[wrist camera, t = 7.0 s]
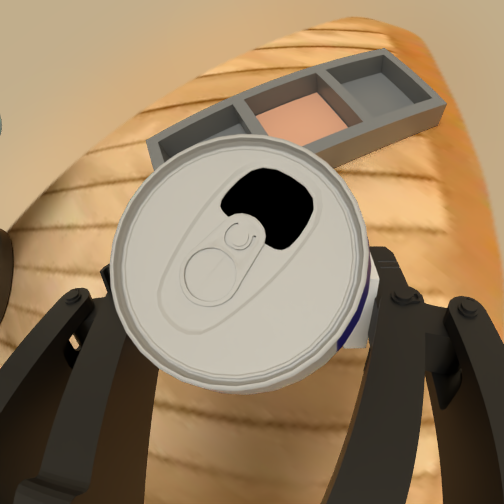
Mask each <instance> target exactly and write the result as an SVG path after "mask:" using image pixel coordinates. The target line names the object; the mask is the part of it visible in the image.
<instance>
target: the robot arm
mask: <svg viewBox="0 0 504 504" xmlns="http://www.w3.org/2000/svg"><path fill="white" fill-rule="evenodd" d="M1 130H2V122H1V117H0V134H1ZM369 248H370V258H371V275H370V284H369V292H368V296H367V299H366V302H365V305H364V308H363V311H362V314H361V317H360V319H359V321H358V323H357V324H356V326H355V328H354V329H353V331H352V333H351V334H350V336H349V338H348V339H347V341H346V343H345V344H344V345H343V348H366V344H367V340H368V338H369V344H370V348H369V352H368V356H367V360H366V363H365V367H364V374H363V378H362V382H361V386H360V390H359V394H358V397H357V401H356V405H355V408H354V412H353V415H352V419H351V422H350V425H349V429H348V432H347V435H346V438H345V441H344V444H343V447H342V450H341V453H340V456H339V459H338V461H337V464H336V467H335V470H334V472H333V475H332V477H331V480H330V483H329V485H328V488H327V490H326V492H325V495H324V497H323V500H322V502H321V504H405V503H406V499H407V495H408V491H409V487H410V483H411V478H412V474H413V469H414V463H415V458H416V452H417V446H418V440H419V433H420V425H421V416H422V406H423V394H424V378H425V377H426V382H427V386H428V391H429V396H430V400H431V406H432V411H433V416H434V422H435V428H436V435H437V441H438V449H439V457H440V466H441V477H442V492H443V504H504V344H503V342H502V340H501V338H500V336H499V334H498V332H497V330H496V328H495V326H494V325H493V323H492V321H491V319H490V317H489V315H488V314H487V312H486V310H485V308H484V307H483V306H482V305H481V304H480V303H479V302H477V301H476V300H475V299H473V298H470V297H464V296H459V297H454V298H453V299H451V300H450V302H449V305H448V308H443V307H438V306H433V305H429V304H426V303H424V299H423V297H422V295H421V294H420V293H419V292H418V291H417V290H415V289H413V288H412V287H409V286H408V284H407V282H406V280H405V277H404V275H403V273H402V271H401V269H400V268H399V264H398V262H397V260H396V258H395V256H394V254H393V253H392V252H391V251H390V250H389V249H387V248H386V247H369ZM12 269H13V252H12V245H11V240H10V238H9V235H8V234H7V233H6V232H5V231H4V230H2V229H0V322H1V319H2V317H3V315H4V312H5V308H6V305H7V301H8V297H9V292H10V287H11V280H12ZM100 273H101V276H102V279H103V281H104V284H105V287H106V289H107V294H106V296H105V297H102V298H95V299H92V298H91V295H90V293H89V291H88V290H87V289H85V288H75V289H72V290H70V291H69V292H67V293H66V294H65V295H63V296H62V297H61V298H60V299H59V300H58V301H57V302H56V304H55V305H54V306H53V307H52V308H51V309H50V310H49V311H48V312H47V313H46V315H45V316H44V317H43V318H42V319H41V320H40V321H39V322H38V324H37V325H36V326H35V327H34V328H33V329H32V330H31V332H30V333H29V334H28V335H27V336H26V338H25V339H24V340H23V341H22V342H21V344H20V345H19V346H18V347H17V348H16V350H15V351H14V352H13V353H12V355H11V356H10V357H9V358H8V360H7V361H6V362H5V364H4V365H3V366H2V367H1V369H0V504H144V492H145V478H146V466H147V455H148V446H149V436H150V428H151V420H152V412H153V404H154V397H155V390H156V384H157V377H158V371H159V368H158V367H157V366H156V365H154V364H153V363H152V362H151V361H150V360H149V359H148V358H147V357H146V356H144V355H143V354H142V353H141V352H140V351H139V349H138V348H137V347H136V345H135V344H134V343H133V341H132V340H131V338H130V337H129V336H128V334H127V333H126V331H125V329H124V327H123V325H122V322H121V320H120V318H119V316H118V314H117V311H116V308H115V304H114V300H113V295H112V291H111V283H110V264H108V265H106V266H105V267H103V269H102V270H101V271H100ZM72 335H74V337H75V339H76V340H77V342H78V344H79V347H78V348H77V349H76V350H75V349H74V348H73V346H72V345H71V343H70V341H69V339H70V337H71V336H72Z"/></svg>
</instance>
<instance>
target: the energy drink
mask: <svg viewBox="0 0 504 504" xmlns="http://www.w3.org/2000/svg"><path fill="white" fill-rule="evenodd" d="M370 275H371V258H370V248H369V240H368V237H367V232H366V225H365V222H364V219H363V217H362V214H361V211H360V208H359V205H358V202H357V200H356V199H355V197H354V195H353V194H352V192H351V191H350V189H349V187H348V186H347V184H346V183H345V181H344V180H343V179H342V177H341V176H340V175H339V174H338V173H337V172H336V171H335V170H334V169H333V168H332V167H331V166H330V165H329V164H328V163H327V162H326V161H324V160H323V159H321V158H320V157H318V156H317V155H316V154H314V153H313V152H311V151H310V150H308V149H306V148H304V147H302V146H299V145H297V144H295V143H292V142H290V141H288V140H285V139H280V138H276V137H271V136H267V135H256V134H237V135H229V136H222V137H217V138H214V139H210V140H207V141H204V142H201V143H198V144H195V145H193V146H191V147H189V148H187V149H185V150H183V151H181V152H179V153H177V154H176V155H174V156H173V157H172V158H170V159H169V160H167V161H166V162H165V163H163V164H162V165H160V166H159V167H158V168H157V169H156V170H155V171H154V172H153V173H152V174H151V175H150V176H149V177H148V178H147V179H146V180H145V181H144V182H143V183H142V184H141V186H140V187H139V188H138V190H137V191H136V193H135V194H134V195H133V197H132V198H131V199H130V201H129V203H128V205H127V207H126V209H125V211H124V213H123V215H122V217H121V219H120V221H119V224H118V227H117V230H116V233H115V236H114V240H113V244H112V251H111V258H110V283H111V291H112V295H113V300H114V304H115V308H116V311H117V314H118V316H119V318H120V320H121V322H122V325H123V327H124V329H125V331H126V333H127V334H128V336H129V337H130V338H131V340H132V341H133V343H134V344H135V345H136V347H137V348H138V349H139V351H140V352H141V353H142V354H143V355H144V356H146V357H147V358H148V359H149V360H150V361H151V362H152V363H153V364H154V365H156V366H157V367H158V368H159V369H161V370H162V371H164V372H166V373H168V374H169V375H171V376H173V377H175V378H177V379H178V380H180V381H182V382H185V383H188V384H192V385H195V386H198V387H201V388H204V389H208V390H211V391H215V392H219V393H225V394H242V395H250V394H257V393H263V392H269V391H275V390H278V389H281V388H283V387H286V386H288V385H291V384H293V383H296V382H298V381H301V380H303V379H304V378H306V377H307V376H309V375H310V374H312V373H313V372H315V371H316V370H317V369H319V368H320V367H322V366H323V365H325V364H326V363H327V362H328V361H329V360H330V359H331V358H332V357H333V356H334V355H335V354H336V352H337V351H338V350H339V349H340V348H341V347H342V346H343V345H344V344H345V343H346V341H347V339H348V338H349V336H350V334H351V333H352V331H353V329H354V328H355V326H356V324H357V323H358V321H359V319H360V317H361V314H362V311H363V308H364V305H365V302H366V299H367V296H368V292H369V284H370Z"/></svg>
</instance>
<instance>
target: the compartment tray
mask: <svg viewBox="0 0 504 504" xmlns="http://www.w3.org/2000/svg"><path fill="white" fill-rule="evenodd" d="M446 105H447V103H446V102H445V101H444V100H443V99H442V98H441V97H440V96H439V95H438V94H437V93H436V92H435V91H434V90H433V89H432V88H431V87H430V86H429V85H427V84H426V83H425V82H424V81H423V80H422V79H421V78H420V77H419V76H418V75H417V74H415V73H414V72H413V71H412V70H411V69H410V68H408V67H407V66H406V65H405V64H404V63H403V62H401V61H400V60H399V59H398V58H396V57H395V56H394V55H393V54H391V53H390V52H389V51H388V50H386V49H385V48H383V49H378V50H373V51H369V52H364V53H360V54H356V55H352V56H348V57H344V58H340V59H337V60H333V61H330V62H326V63H323V64H319V65H316V66H313V67H310V68H306V69H303V70H300V71H297V72H294V73H291V74H289V75H286V76H283V77H280V78H277V79H275V80H272V81H269V82H267V83H264V84H261V85H259V86H256V87H254V88H251V89H249V90H246V91H244V92H242V93H239V94H237V95H235V96H232V97H230V98H228V99H226V100H223V101H221V102H219V103H217V104H215V105H212V106H210V107H208V108H206V109H204V110H202V111H200V112H198V113H196V114H194V115H192V116H190V117H188V118H186V119H184V120H182V121H180V122H178V123H176V124H174V125H173V126H171V127H169V128H167V129H165V130H163V131H162V132H160V133H158V134H156V135H154V136H153V137H151V138H149V139H148V140H146V143H147V147H148V151H149V154H150V158H151V162H152V165H153V169H154V171H155V170H156V169H157V168H158V167H159V166H160V165H162V164H163V163H165V162H166V161H167V160H169V159H170V158H172V157H173V156H174V155H176V154H177V153H179V152H181V151H183V150H185V149H187V148H189V147H191V146H193V145H195V144H198V143H201V142H204V141H207V140H210V139H214V138H217V137H222V136H229V135H237V134H256V135H267V136H271V137H276V138H280V139H285V140H288V141H290V142H292V143H295V144H297V145H299V146H302V147H304V148H306V149H308V150H310V151H311V152H313V153H314V154H316V155H317V156H318V157H320V158H321V159H323V160H324V161H326V162H327V163H328V164H329V165H330V166H331V167H332V168H333V169H334V168H336V167H338V166H341V165H343V164H345V163H347V162H350V161H352V160H354V159H357V158H359V157H361V156H364V155H366V154H368V153H371V152H373V151H375V150H378V149H380V148H382V147H385V146H387V145H390V144H392V143H395V142H397V141H399V140H402V139H404V138H407V137H409V136H412V135H414V134H417V133H419V132H422V131H424V130H427V129H429V128H432V127H435V126H437V125H438V124H439V121H440V119H441V117H442V114H443V112H444V109H445V107H446Z"/></svg>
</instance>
